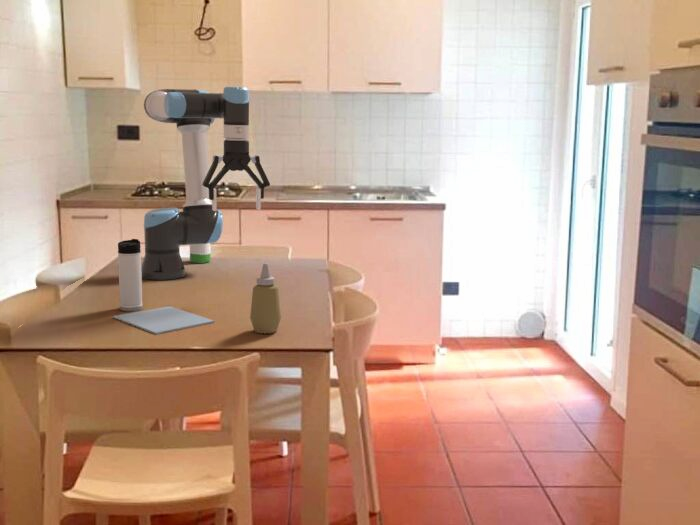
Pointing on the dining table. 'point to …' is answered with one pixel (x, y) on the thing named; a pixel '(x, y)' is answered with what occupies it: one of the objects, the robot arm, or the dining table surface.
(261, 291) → the squeeze bottle
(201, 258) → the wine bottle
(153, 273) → the robot arm
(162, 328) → the mat
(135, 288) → the travel mug
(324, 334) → the dining table surface
